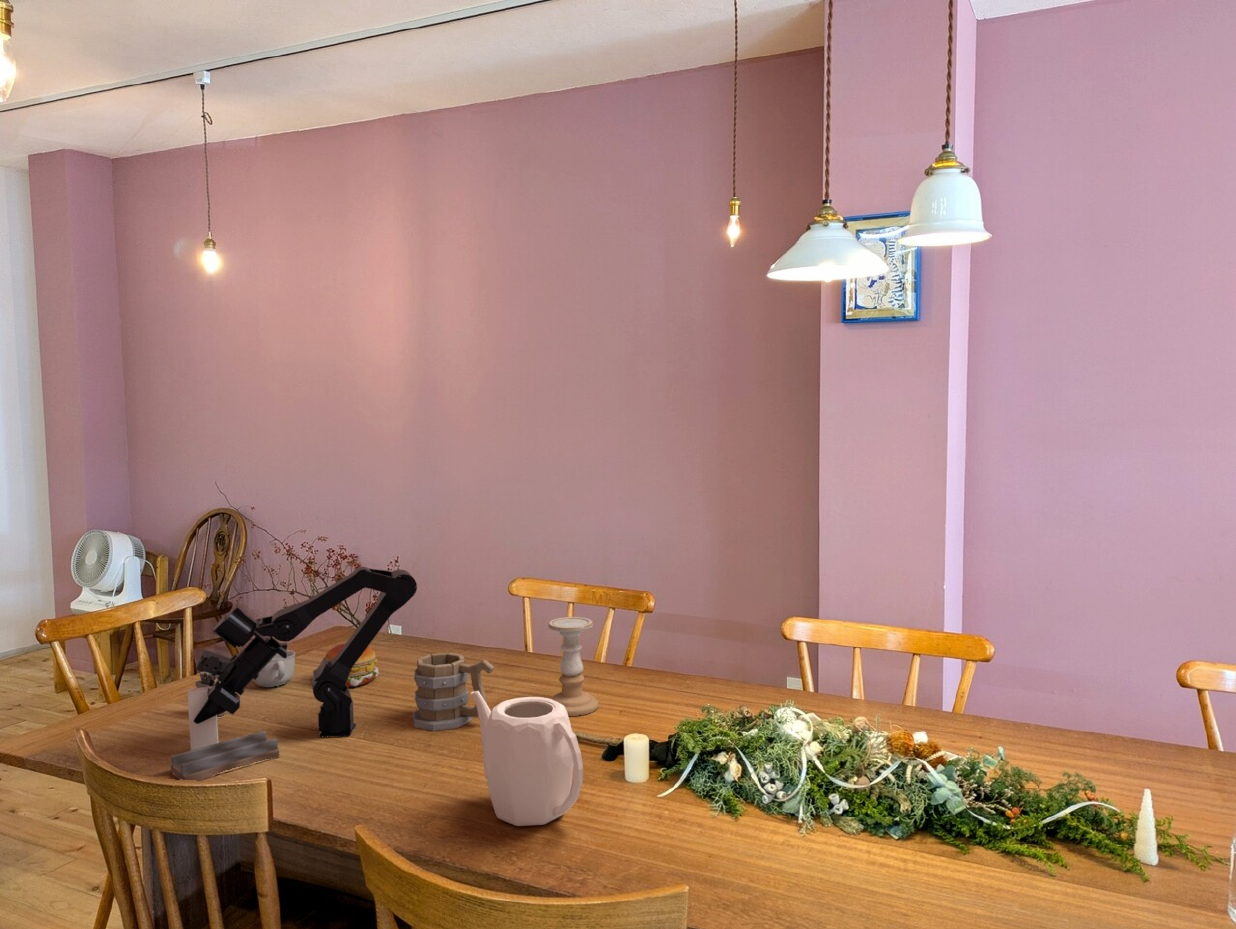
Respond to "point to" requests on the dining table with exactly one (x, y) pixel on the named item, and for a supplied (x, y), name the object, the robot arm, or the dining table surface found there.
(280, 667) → the teacup
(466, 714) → the tankard
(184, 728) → the dining table surface
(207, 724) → the door panel
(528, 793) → the watering can
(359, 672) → the burger
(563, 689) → the candle holder
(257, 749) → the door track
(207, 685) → the lighter
